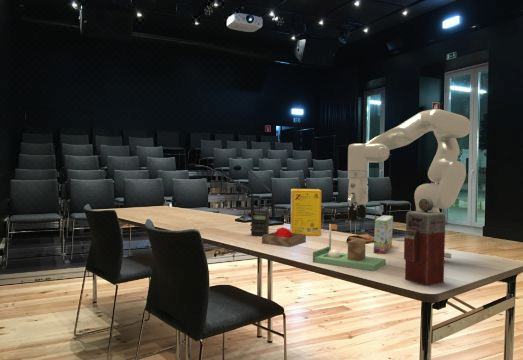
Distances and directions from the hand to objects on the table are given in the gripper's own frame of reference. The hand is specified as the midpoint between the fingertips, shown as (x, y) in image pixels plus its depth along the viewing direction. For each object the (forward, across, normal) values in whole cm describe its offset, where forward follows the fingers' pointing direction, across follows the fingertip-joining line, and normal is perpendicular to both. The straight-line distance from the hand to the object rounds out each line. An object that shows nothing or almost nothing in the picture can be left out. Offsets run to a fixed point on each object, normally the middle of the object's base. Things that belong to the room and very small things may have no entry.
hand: (357, 218), depth 168 cm
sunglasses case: (+19, +48, +15) cm, 54 cm away
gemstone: (+18, +21, +46) cm, 54 cm away
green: (+18, 0, +3) cm, 18 cm away
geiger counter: (+18, +32, +68) cm, 77 cm away
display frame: (+18, +23, +47) cm, 55 cm away
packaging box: (+18, +55, +52) cm, 77 cm away
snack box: (+18, +36, +1) cm, 40 cm away
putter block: (+16, 0, 0) cm, 16 cm away
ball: (+16, -1, +10) cm, 18 cm away
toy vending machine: (+18, -11, -27) cm, 35 cm away
